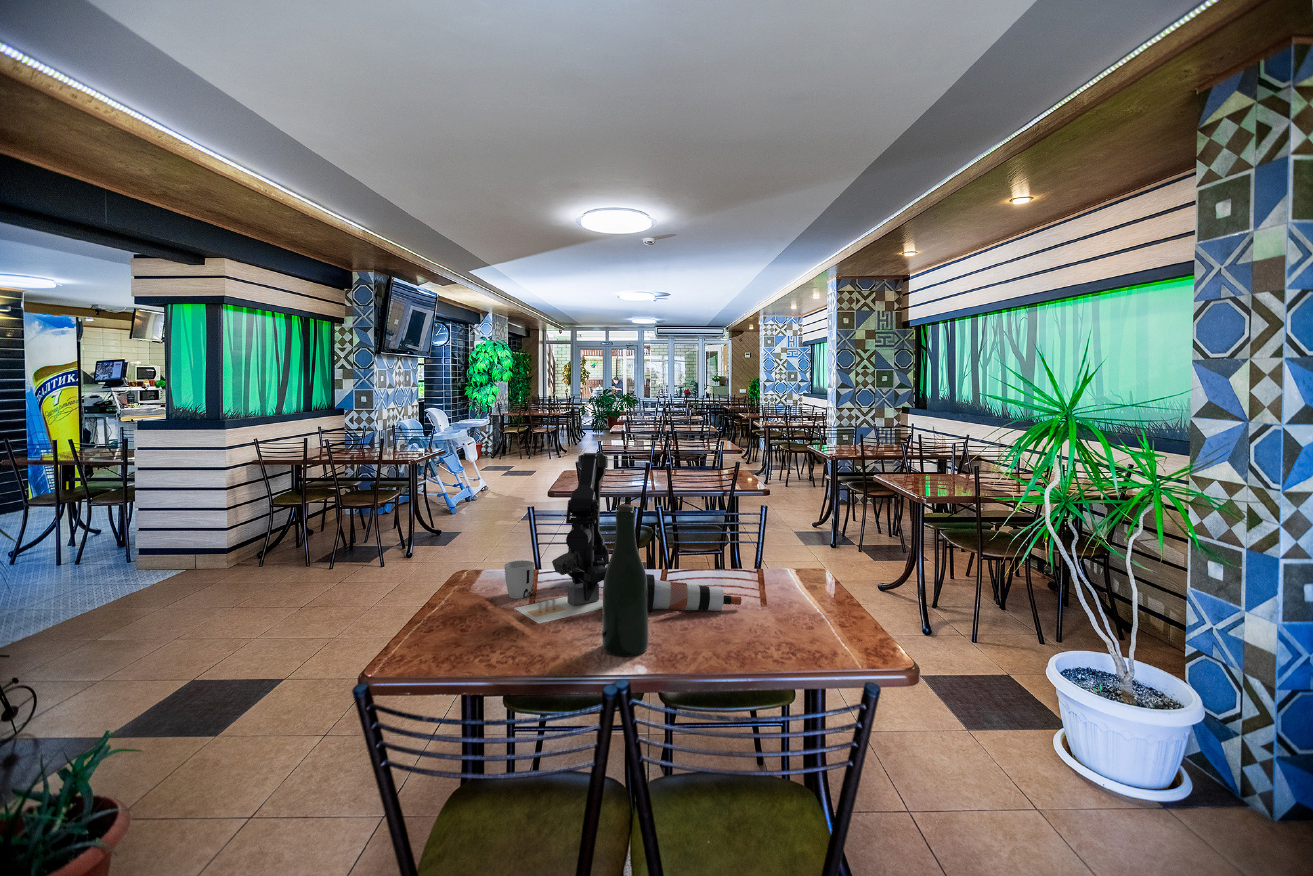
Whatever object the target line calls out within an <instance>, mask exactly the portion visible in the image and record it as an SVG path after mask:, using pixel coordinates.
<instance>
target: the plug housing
mask: <svg viewBox="0 0 1313 876" xmlns="http://www.w3.org/2000/svg"><path fill="white" fill-rule="evenodd" d="M567 596H568V603H569V604H571V605H573V606H576V605H580V604H585V603H589V602H593V601H597V600H599V599H600V584H599V582H598V583H597V585H596V587H595V589H594V591H593V593H592V595H591V597H590V600H589V601H585V598H584V590H583V583H580V584H575V585H574V584H572V585H571V584H570V585H568V586H567Z"/></svg>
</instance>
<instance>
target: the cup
mask: <svg viewBox="0 0 1313 876" xmlns="http://www.w3.org/2000/svg"><path fill="white" fill-rule="evenodd" d="M503 566H504V575H505V584H506V590H507V593H508V596H509V597H510V598H511V599H515V600H516V599H525V598H528V597H530V596H531V593H532V590H533V585H534V573H535V563H534V561H531V560H525V559H524V560H523V559H522V560H512V561H508V562H506V563H504V565H503Z"/></svg>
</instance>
